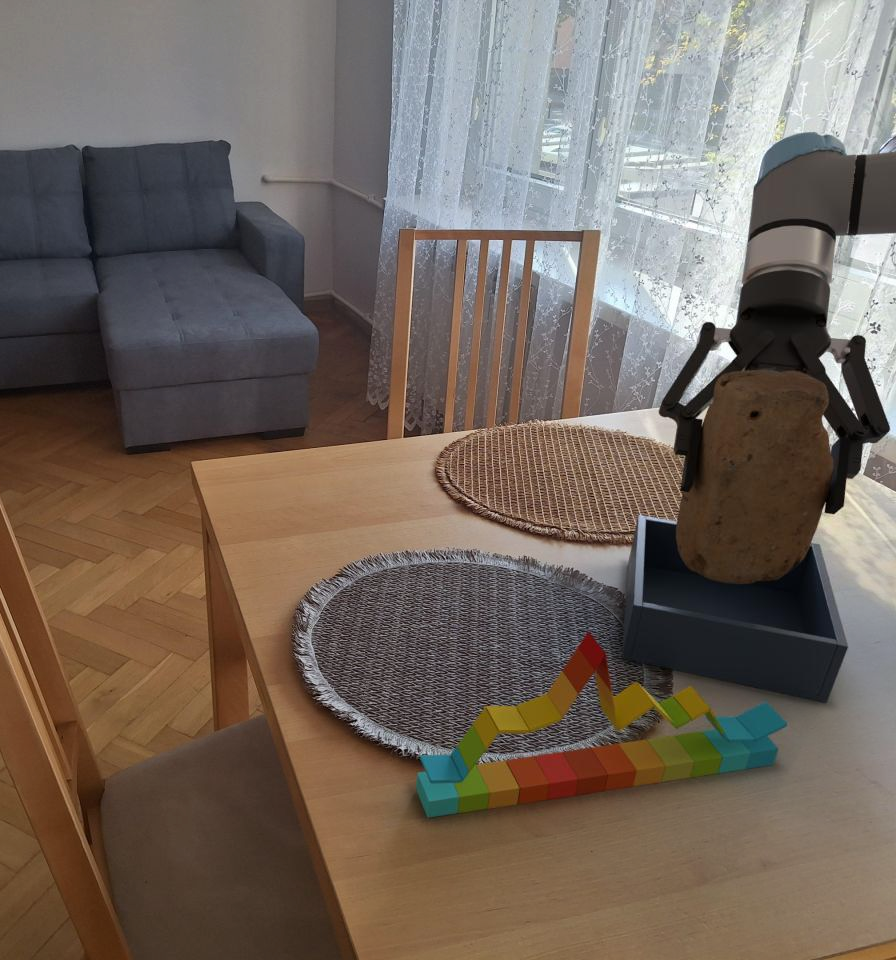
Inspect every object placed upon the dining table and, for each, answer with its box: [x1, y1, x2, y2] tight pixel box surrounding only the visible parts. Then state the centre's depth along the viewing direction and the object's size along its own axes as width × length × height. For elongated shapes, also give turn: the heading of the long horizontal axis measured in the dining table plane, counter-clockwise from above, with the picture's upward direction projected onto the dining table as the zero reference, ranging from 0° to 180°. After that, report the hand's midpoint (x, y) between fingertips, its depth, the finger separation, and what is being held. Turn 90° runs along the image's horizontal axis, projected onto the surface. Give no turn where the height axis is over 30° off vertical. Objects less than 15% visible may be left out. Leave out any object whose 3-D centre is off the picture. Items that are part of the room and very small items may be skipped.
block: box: [676, 370, 834, 584], centre depth 80 cm, size 11×8×20 cm
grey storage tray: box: [621, 514, 849, 703], centre depth 87 cm, size 18×18×7 cm
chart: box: [415, 631, 788, 819], centre depth 69 cm, size 30×3×15 cm, turn 99°
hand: (758, 498), depth 79 cm, fingers closed on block, 11 cm apart
